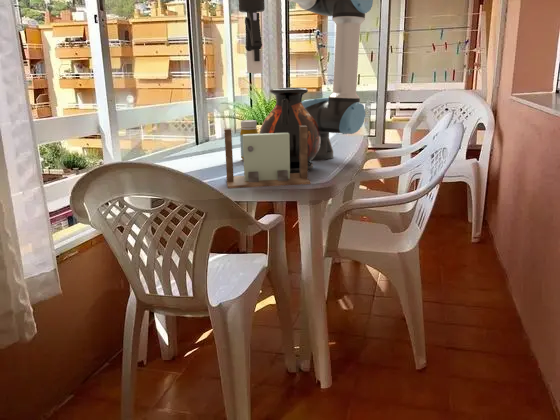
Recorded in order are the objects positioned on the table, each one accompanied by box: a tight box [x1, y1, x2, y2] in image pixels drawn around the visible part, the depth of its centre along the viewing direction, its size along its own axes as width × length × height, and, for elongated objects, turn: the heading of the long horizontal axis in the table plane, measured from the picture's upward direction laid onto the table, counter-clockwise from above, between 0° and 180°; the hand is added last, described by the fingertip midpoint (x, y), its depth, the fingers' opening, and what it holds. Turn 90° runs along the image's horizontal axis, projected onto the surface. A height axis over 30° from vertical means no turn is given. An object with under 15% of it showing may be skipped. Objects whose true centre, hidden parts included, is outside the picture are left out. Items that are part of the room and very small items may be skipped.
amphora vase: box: [258, 87, 321, 174], centre depth 170 cm, size 22×22×28 cm
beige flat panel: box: [243, 133, 291, 181], centre depth 152 cm, size 14×4×14 cm, turn 98°
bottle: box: [239, 119, 259, 161], centre depth 195 cm, size 7×7×15 cm
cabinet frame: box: [223, 125, 312, 189], centre depth 152 cm, size 25×13×18 cm, turn 98°
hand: (254, 73), depth 149 cm, fingers open, 13 cm apart
